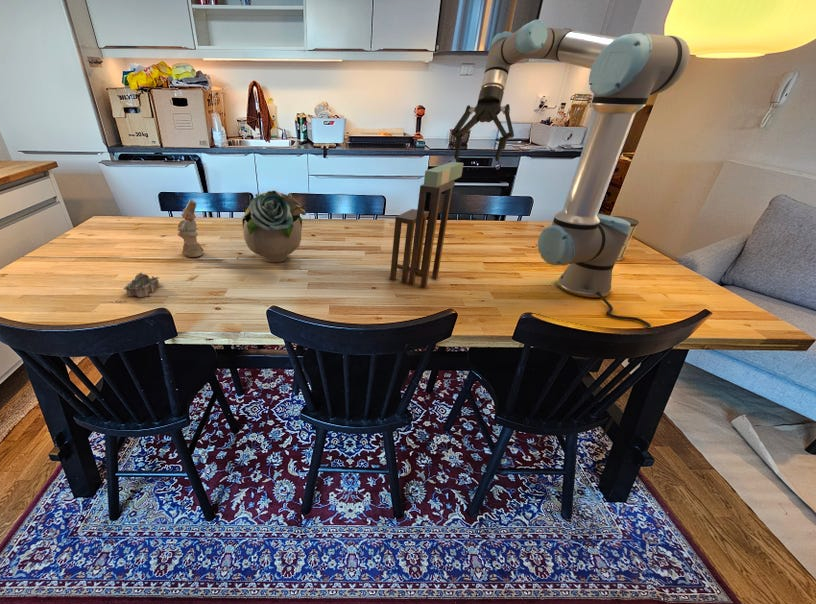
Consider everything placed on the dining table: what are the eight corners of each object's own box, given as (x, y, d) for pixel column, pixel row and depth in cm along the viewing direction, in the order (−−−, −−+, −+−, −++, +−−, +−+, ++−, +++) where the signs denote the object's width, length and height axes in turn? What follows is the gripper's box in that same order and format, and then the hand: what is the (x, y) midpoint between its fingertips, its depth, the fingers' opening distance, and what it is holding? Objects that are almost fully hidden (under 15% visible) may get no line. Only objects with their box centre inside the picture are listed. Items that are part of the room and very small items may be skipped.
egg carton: (144, 282, 132) (141, 271, 129) (164, 285, 130) (161, 273, 128) (122, 296, 123) (118, 284, 121) (143, 299, 122) (140, 286, 119)
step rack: (405, 268, 144) (416, 176, 126) (439, 276, 138) (455, 181, 120) (389, 279, 135) (398, 182, 118) (424, 288, 129) (439, 188, 112)
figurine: (209, 252, 156) (199, 199, 144) (194, 259, 149) (183, 204, 138) (192, 249, 159) (181, 196, 147) (176, 256, 152) (164, 201, 141)
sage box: (449, 175, 127) (451, 161, 125) (461, 176, 126) (463, 162, 123) (423, 185, 114) (425, 170, 112) (436, 187, 112) (438, 172, 110)
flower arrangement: (319, 254, 154) (318, 188, 140) (281, 276, 137) (275, 202, 123) (269, 243, 165) (264, 180, 151) (227, 262, 147) (217, 193, 133)
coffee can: (588, 250, 160) (602, 215, 152) (615, 251, 160) (630, 216, 152) (599, 260, 152) (615, 222, 144) (628, 261, 151) (644, 223, 143)
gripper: (533, 94, 127) (515, 164, 132) (456, 97, 138) (442, 161, 142) (532, 82, 121) (514, 156, 125) (452, 86, 132) (437, 154, 136)
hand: (475, 159), depth 134 cm, fingers open, 13 cm apart
